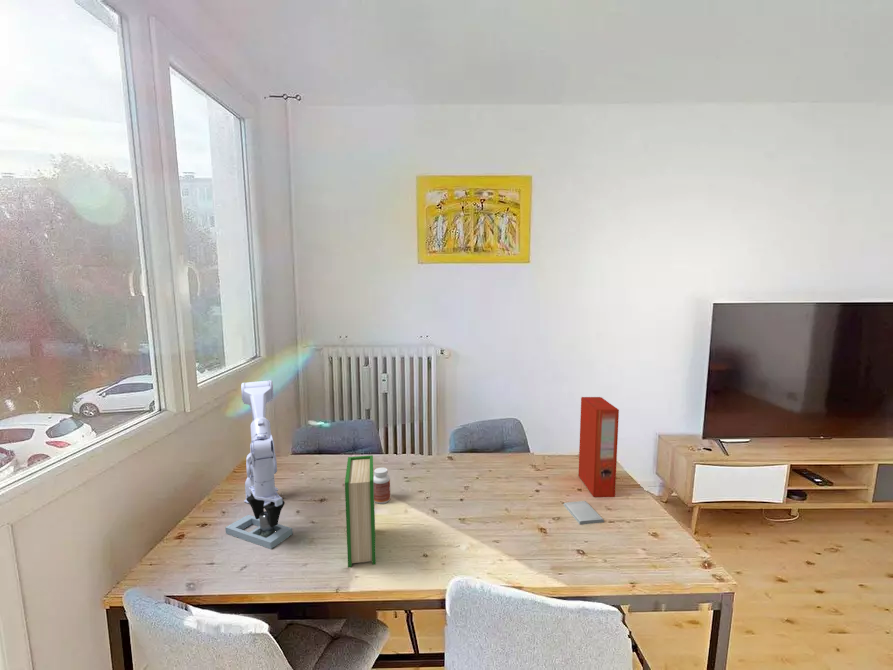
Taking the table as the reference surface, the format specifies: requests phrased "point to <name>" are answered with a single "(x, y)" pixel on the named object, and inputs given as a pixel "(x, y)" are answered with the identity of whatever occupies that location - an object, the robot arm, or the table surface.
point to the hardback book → (360, 510)
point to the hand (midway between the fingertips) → (266, 521)
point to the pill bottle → (381, 486)
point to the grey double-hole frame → (258, 532)
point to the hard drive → (583, 512)
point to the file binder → (598, 446)
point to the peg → (265, 525)
